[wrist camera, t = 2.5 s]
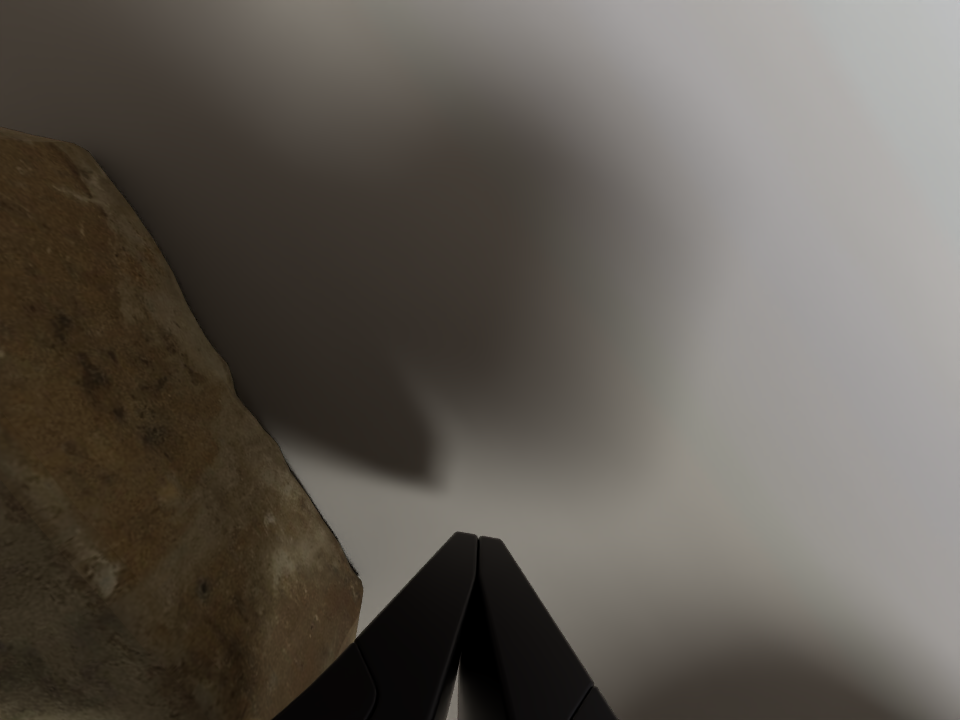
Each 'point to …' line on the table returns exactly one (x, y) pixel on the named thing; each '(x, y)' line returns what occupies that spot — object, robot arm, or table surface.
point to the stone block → (138, 482)
